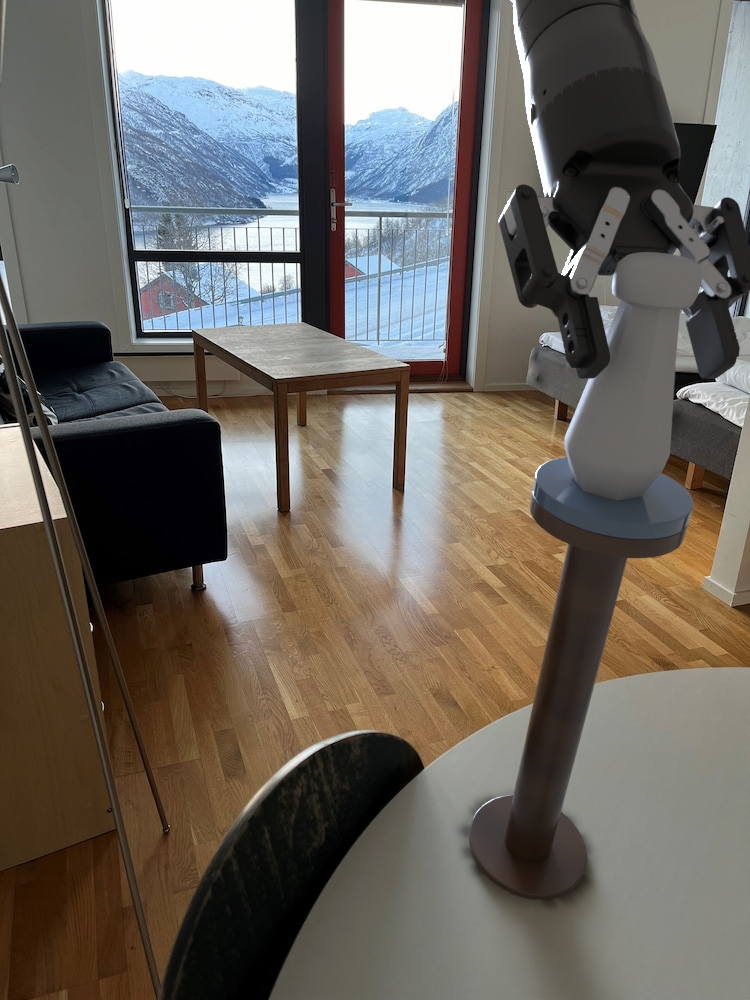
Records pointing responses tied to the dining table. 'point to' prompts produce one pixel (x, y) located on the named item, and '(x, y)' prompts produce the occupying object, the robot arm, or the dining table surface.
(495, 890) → the dining table surface
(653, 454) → the salt shaker
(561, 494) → the blue round disc
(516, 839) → the stand
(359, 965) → the dining table surface
